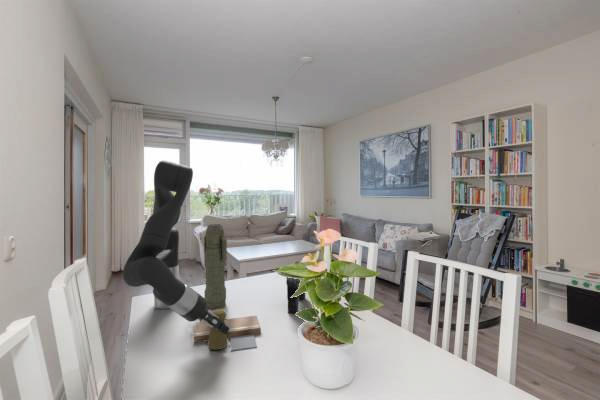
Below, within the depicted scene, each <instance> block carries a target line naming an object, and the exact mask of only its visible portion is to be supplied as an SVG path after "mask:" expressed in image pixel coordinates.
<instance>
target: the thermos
mask: <svg viewBox="0 0 600 400" xmlns="http://www.w3.org/2000/svg"><path fill="white" fill-rule="evenodd" d="M227 249H228V240H227V238H226V236H225V229H224V227H223V225H222V224H220V223H211V224H209V225H207V227H206V231H205V235H204V238H203V253H204V254H203V256H204V267H205V289H204V298H205V299H206V301H207V306H206V308H207V309H209V310H216V309H222V308H225V307H226V305H227V303H226V301H227V288H226V281H225V280H226V276H225V274H226V273H225V272H226V270H225V269H226V265H227V261H226V260H227V259H228V258H227Z"/></svg>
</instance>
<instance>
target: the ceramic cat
mask: <svg viewBox="0 0 600 400" xmlns="http://www.w3.org/2000/svg"><path fill="white" fill-rule="evenodd" d="M295 264H296V265H298V264H299V261H295V263H294V265H295ZM299 283H300V280H299V279H294V278H288V277H287V276H286V292H287V293H286V298H287V313H288V314H290V315H296V314H295V313H296V312H297V313H298V312H299V302H300V301H305V300H306V293H303V294H301V295H299V296H297V297H293V298H290V297H291V296H292V295H293V294H294V293H295V291H296V290H297V289H298V287H299Z"/></svg>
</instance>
